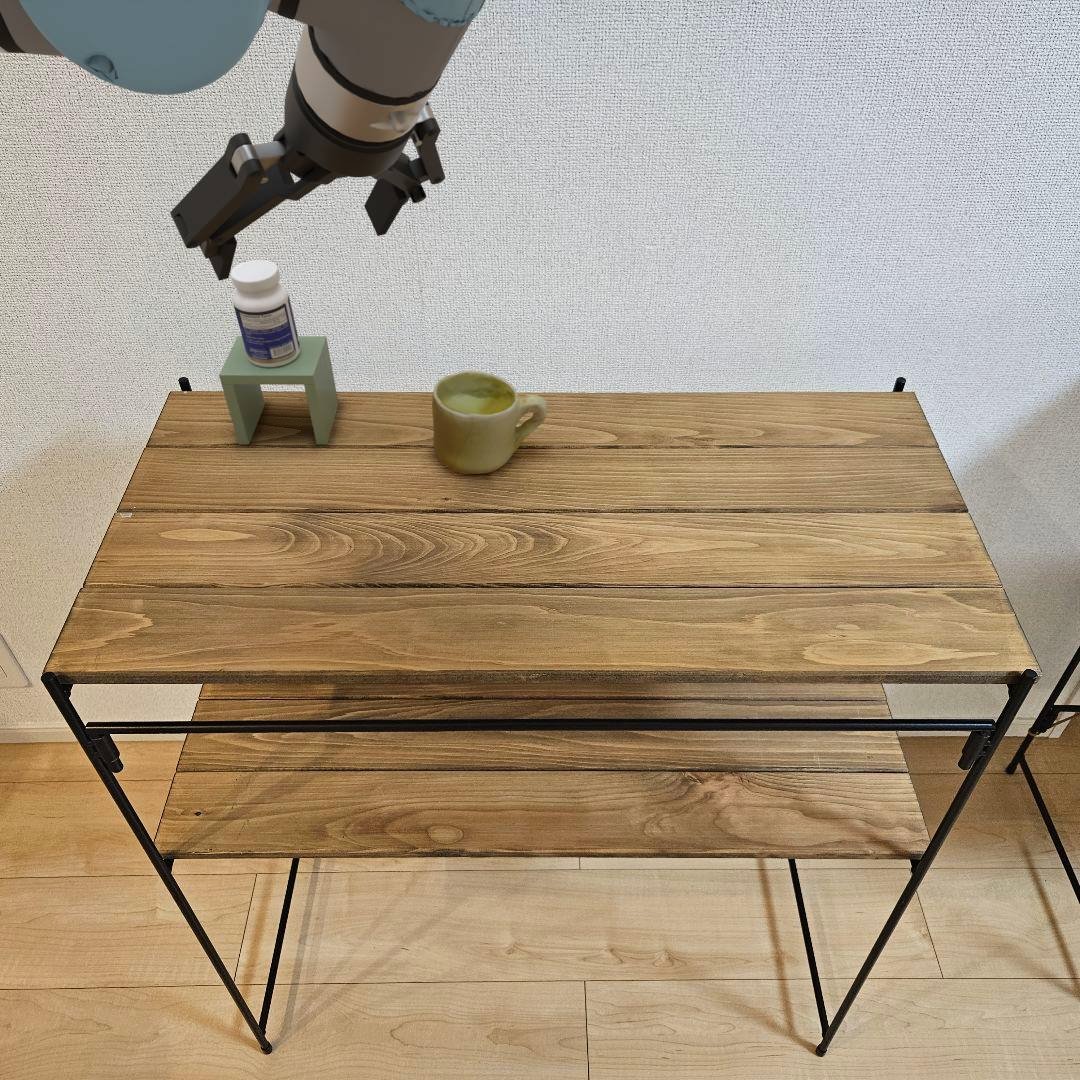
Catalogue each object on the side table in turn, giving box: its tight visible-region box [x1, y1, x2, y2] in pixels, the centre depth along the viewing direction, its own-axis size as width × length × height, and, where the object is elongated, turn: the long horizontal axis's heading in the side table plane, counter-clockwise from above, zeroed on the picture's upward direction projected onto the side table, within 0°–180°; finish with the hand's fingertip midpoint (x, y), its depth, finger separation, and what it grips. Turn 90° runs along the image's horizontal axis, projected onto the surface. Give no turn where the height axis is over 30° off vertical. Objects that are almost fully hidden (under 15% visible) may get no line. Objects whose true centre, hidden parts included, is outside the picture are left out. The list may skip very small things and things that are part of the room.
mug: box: [431, 370, 549, 475], centre depth 96 cm, size 12×10×10 cm
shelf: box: [218, 335, 340, 446], centre depth 100 cm, size 10×8×9 cm
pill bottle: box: [230, 259, 300, 367], centre depth 93 cm, size 6×6×10 cm
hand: (298, 240), depth 71 cm, fingers open, 13 cm apart
